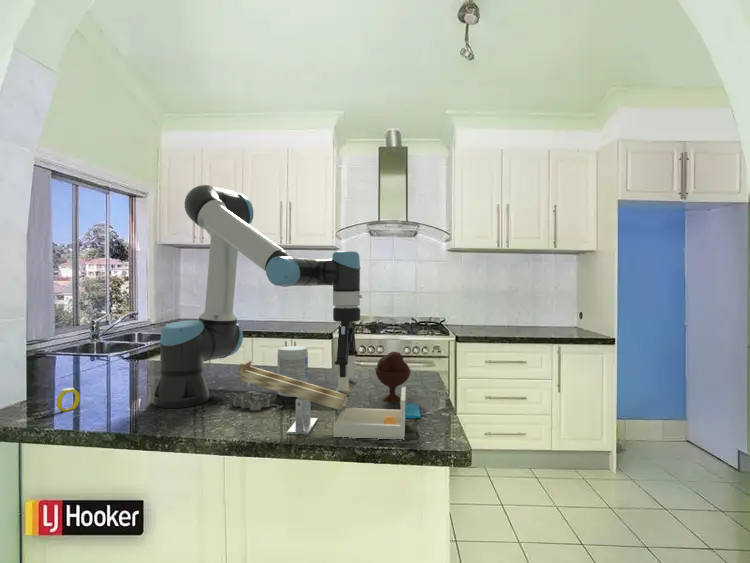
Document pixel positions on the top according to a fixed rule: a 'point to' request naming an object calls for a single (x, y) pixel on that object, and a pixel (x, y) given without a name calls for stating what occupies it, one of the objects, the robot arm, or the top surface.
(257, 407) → the egg carton
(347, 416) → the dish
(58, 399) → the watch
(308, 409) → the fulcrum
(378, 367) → the ice cream bowl
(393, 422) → the ball
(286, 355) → the supplement tub
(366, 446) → the top surface
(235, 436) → the top surface
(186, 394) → the robot arm
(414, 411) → the sponge
